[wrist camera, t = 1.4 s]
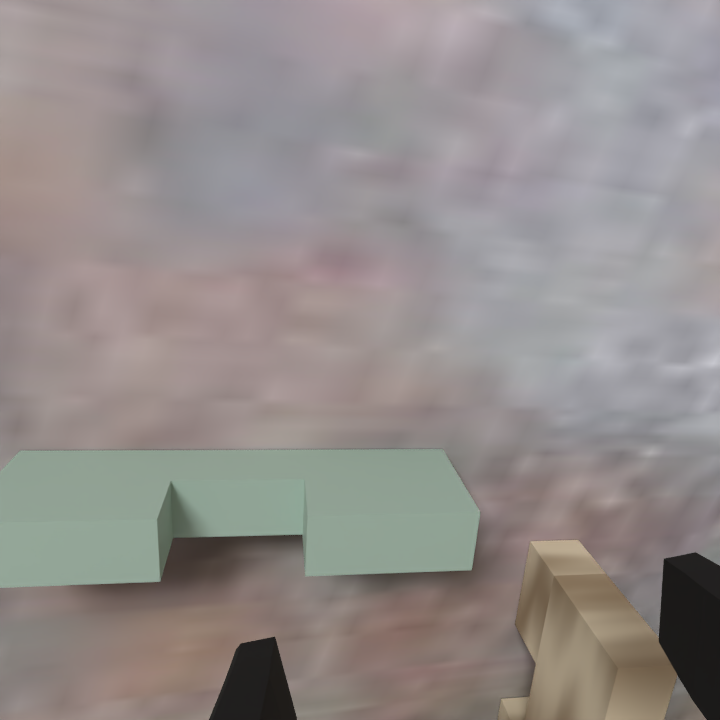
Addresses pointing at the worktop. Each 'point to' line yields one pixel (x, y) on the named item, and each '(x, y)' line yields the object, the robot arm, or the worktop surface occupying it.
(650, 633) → the birch board
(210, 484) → the notched rail
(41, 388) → the worktop surface
